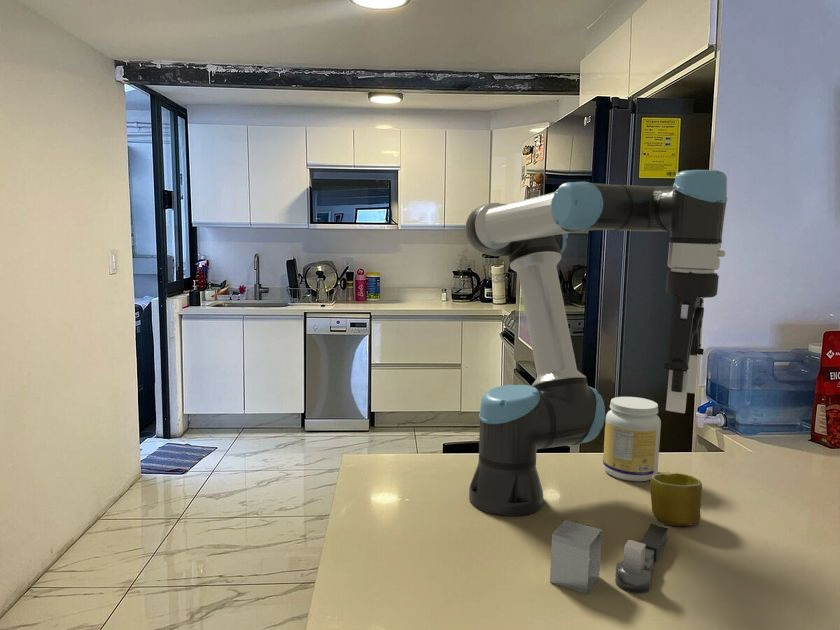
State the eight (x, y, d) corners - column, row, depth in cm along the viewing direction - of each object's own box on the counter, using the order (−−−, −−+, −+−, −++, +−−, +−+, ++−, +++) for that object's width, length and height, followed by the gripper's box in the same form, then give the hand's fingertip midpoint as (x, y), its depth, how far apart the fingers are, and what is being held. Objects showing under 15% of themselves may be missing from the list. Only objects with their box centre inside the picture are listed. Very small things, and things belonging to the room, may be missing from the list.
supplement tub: (612, 459, 154) (616, 392, 152) (663, 471, 147) (668, 401, 145) (594, 474, 145) (598, 403, 142) (648, 487, 137) (653, 412, 135)
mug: (717, 525, 116) (701, 471, 117) (660, 536, 118) (645, 483, 119) (705, 510, 127) (690, 461, 129) (653, 520, 130) (639, 472, 131)
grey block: (549, 582, 99) (552, 534, 98) (563, 565, 104) (565, 520, 103) (587, 594, 96) (589, 545, 95) (599, 576, 101) (601, 529, 100)
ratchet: (643, 535, 115) (646, 501, 115) (673, 543, 113) (676, 508, 112) (611, 586, 98) (613, 547, 97) (645, 597, 95) (648, 556, 95)
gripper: (711, 277, 86) (697, 425, 89) (724, 268, 108) (713, 388, 111) (654, 273, 90) (643, 416, 93) (678, 265, 112) (668, 381, 115)
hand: (681, 401), depth 102 cm, fingers open, 13 cm apart
